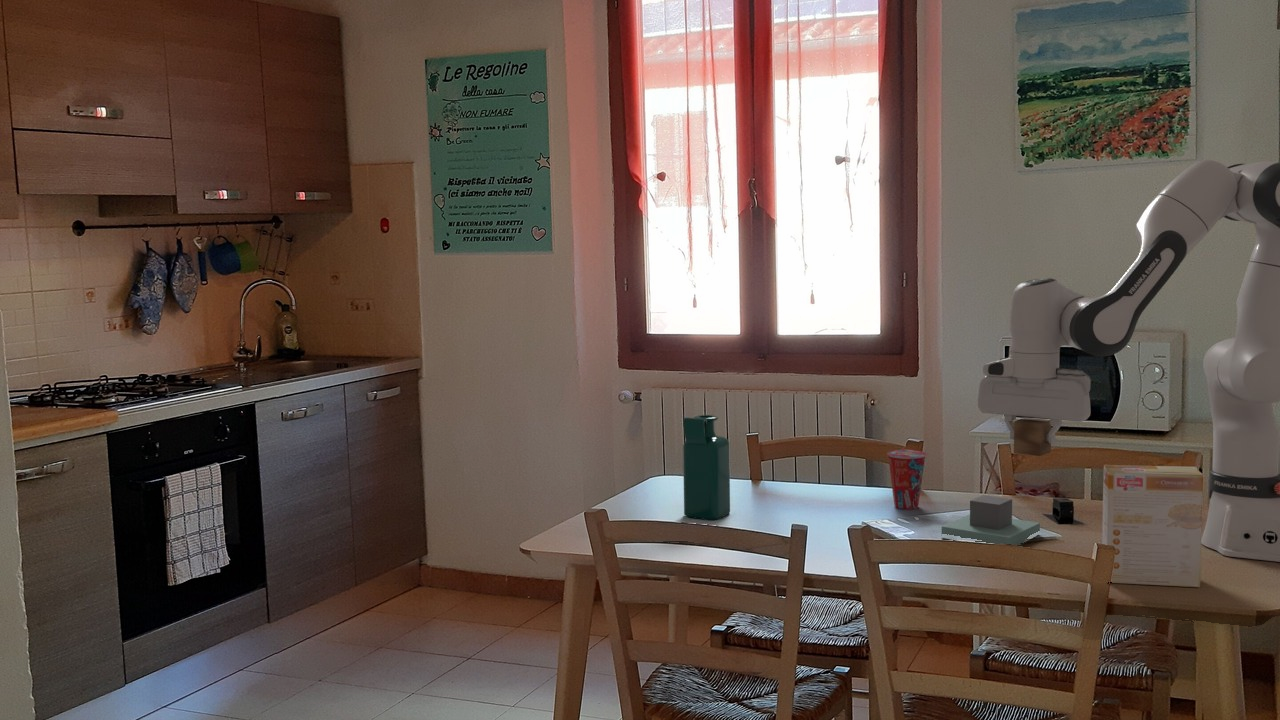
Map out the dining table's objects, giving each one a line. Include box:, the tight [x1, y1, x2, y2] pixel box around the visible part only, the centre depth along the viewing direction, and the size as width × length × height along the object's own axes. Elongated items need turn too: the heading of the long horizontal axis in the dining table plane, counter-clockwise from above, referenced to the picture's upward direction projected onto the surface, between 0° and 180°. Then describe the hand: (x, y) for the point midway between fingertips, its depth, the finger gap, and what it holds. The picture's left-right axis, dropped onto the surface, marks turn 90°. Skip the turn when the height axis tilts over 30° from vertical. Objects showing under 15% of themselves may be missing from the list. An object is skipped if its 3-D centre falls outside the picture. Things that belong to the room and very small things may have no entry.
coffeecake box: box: [1101, 464, 1204, 588], centre depth 199 cm, size 15×7×20 cm, turn 75°
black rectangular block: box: [1042, 497, 1085, 526], centre depth 243 cm, size 12×7×5 cm, turn 2°
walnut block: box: [1013, 417, 1052, 457], centre depth 215 cm, size 5×5×6 cm
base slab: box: [941, 514, 1041, 546], centre depth 229 cm, size 14×14×2 cm
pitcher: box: [682, 414, 731, 521], centre depth 251 cm, size 10×8×22 cm
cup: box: [886, 449, 927, 510], centre depth 256 cm, size 9×8×12 cm
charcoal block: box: [969, 494, 1013, 530], centre depth 229 cm, size 6×6×5 cm
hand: (1032, 441), depth 215 cm, fingers closed on walnut block, 5 cm apart
